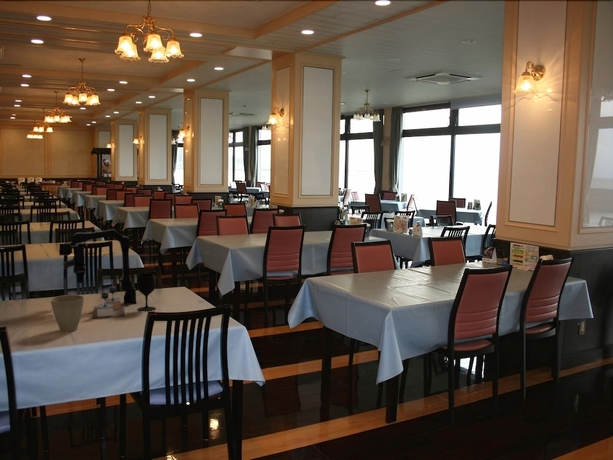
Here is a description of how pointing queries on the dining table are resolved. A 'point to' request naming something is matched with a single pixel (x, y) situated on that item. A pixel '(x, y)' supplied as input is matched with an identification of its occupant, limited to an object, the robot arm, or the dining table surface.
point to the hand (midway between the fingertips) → (80, 281)
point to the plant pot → (67, 311)
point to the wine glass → (146, 288)
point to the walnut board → (116, 313)
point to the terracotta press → (114, 303)
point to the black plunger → (104, 297)
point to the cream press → (105, 310)
